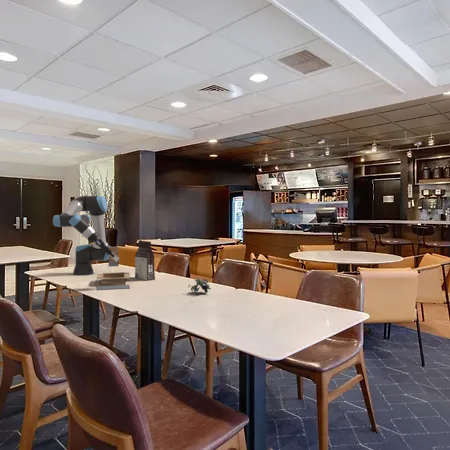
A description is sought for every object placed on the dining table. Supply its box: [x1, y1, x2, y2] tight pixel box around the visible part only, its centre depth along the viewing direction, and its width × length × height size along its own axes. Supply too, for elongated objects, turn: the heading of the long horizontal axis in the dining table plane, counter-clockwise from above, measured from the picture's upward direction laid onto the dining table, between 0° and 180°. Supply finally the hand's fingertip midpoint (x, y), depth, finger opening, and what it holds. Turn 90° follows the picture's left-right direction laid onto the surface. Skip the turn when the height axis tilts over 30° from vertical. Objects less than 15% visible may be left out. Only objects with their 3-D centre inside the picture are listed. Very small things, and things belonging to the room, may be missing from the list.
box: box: [108, 246, 119, 268], centre depth 240 cm, size 6×6×12 cm
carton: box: [96, 271, 131, 286], centre depth 259 cm, size 26×22×5 cm
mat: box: [96, 284, 131, 291], centre depth 240 cm, size 11×20×1 cm, turn 107°
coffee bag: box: [134, 240, 156, 282], centre depth 274 cm, size 16×9×28 cm, turn 46°
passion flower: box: [187, 277, 211, 295], centre depth 225 cm, size 11×11×12 cm
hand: (117, 259), depth 241 cm, fingers closed on box, 6 cm apart
